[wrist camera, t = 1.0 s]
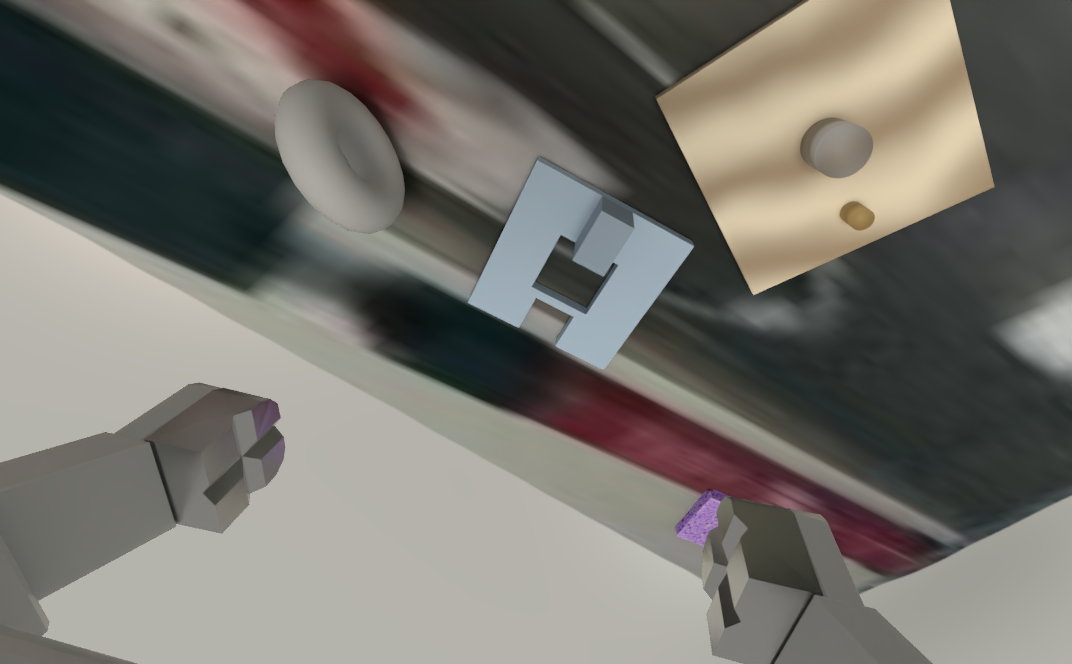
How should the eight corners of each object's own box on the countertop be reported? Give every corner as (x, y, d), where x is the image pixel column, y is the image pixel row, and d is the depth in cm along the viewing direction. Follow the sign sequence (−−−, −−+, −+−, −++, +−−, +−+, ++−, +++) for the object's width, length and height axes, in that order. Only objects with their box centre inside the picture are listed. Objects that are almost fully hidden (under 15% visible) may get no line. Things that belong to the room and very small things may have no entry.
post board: (654, 96, 33) (660, 104, 29) (915, -74, 27) (965, -91, 23) (748, 286, 39) (763, 314, 35) (979, 180, 33) (1028, 200, 29)
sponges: (773, 561, 55) (778, 577, 54) (672, 522, 54) (674, 537, 53) (815, 526, 52) (821, 541, 50) (707, 483, 51) (711, 498, 49)
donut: (319, 87, 35) (226, 103, 27) (357, 64, 34) (273, 74, 26) (393, 214, 40) (334, 264, 31) (430, 198, 38) (378, 244, 30)
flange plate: (539, 156, 36) (530, 171, 32) (691, 240, 37) (701, 265, 33) (471, 296, 42) (456, 323, 38) (603, 362, 44) (602, 394, 40)
